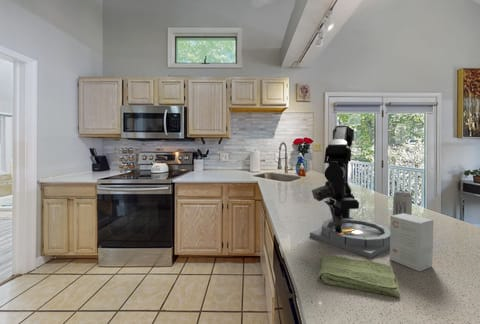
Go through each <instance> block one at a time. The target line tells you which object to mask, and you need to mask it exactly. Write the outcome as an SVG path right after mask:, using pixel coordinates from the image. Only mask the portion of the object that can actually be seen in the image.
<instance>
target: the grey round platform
mask: <svg viewBox="0 0 480 324" xmlns="http://www.w3.org/2000/svg"><path fill="white" fill-rule="evenodd" d="M342 223H354V224H361V225H366V226H370V227H373V228H375V229H377V230H379V231H380V232H381V233H382V235H380V236H378V237H358V236H350V235H345V234H344V233H339V232H335V231H333V230H332V229H330V227H331V226H332V225H334V224H335V222H334V221H333V218H331V219H327V220H325V221H323V222H322V224H321V228H319V229H316V230H314V231H310V232H309V237H311V238H313V239H316V240H318V241H322V242H324V243H328V244H329V245H333V246H335V247H338V248H341V249H344V250H346V251H349V252H352V253H355V254H358V255H360V256H363V257H366V258H369V259H372V258H374V257H376V256H377V255H379V254H381V253H383V252H385V251H387V250H388V249H389V250H390V227H386V226H385V225H382V224H380V223H377V222H373V221H369V220H365V219H359V218H358V219H356V218H353V219H349V218H347V219H346V218H342Z"/></svg>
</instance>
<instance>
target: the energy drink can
mask: <svg viewBox="0 0 480 324" xmlns="http://www.w3.org/2000/svg"><path fill="white" fill-rule="evenodd" d="M392 198H393V199H392V200H393V202H392V215H397V214H402V213H404V214H409V215H413V214H412V213H413V212H412V211H413V208H412V207H413V196H412V194H411V191H406V190H395V192H394V194H393V197H392Z"/></svg>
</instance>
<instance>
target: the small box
mask: <svg viewBox="0 0 480 324" xmlns="http://www.w3.org/2000/svg"><path fill="white" fill-rule="evenodd" d="M389 226H390V227H389V229H390V248H389V261H393V262H395V263H398V264H400V265H402V266H405V267H408V268H409V269H412V270H414V271H417V272H423V271H424V270H426V269H428V268H432V266H433V253H434V252H433V251H434V246H433V245H434V220H433V219H430V218H426V217H421V216H417V215H413V214H412V215H409V214H404V213H402V214H397V215H393V214H391V215H390V225H389Z"/></svg>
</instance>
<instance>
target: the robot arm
mask: <svg viewBox="0 0 480 324" xmlns="http://www.w3.org/2000/svg"><path fill="white" fill-rule="evenodd" d="M354 141H355V130H354V129H353V128H352V127H349V125H347V124H338V125H335V128H334V129H333V130H332V140H331V141H329V142H328V144H327V146H326V147H325V152H324V161H323V163H324V164H328V166H327V167H326V169H324V178H325V179H326V181H325V182H324V185H323V186H319V187H317V188H314V189H312V190H311V193H312V197H313V199H314V200H316V201H318V202H321V201H323V200H324V203H325V204H326V205H327V206H328V208H329V211H330V214H331V219H333V221H334V222H335V215H341V216H342V218H346V219H347V218H349V219H354V218H353V217H351V215H350V214H351V211H350V210H359V208H360V202H359V200H357V199H356V198H355V196H354V193H352V187H351V186H350V184H349V163H350V162H351V160H352V149H351V147H352V145H353V142H354Z"/></svg>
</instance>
